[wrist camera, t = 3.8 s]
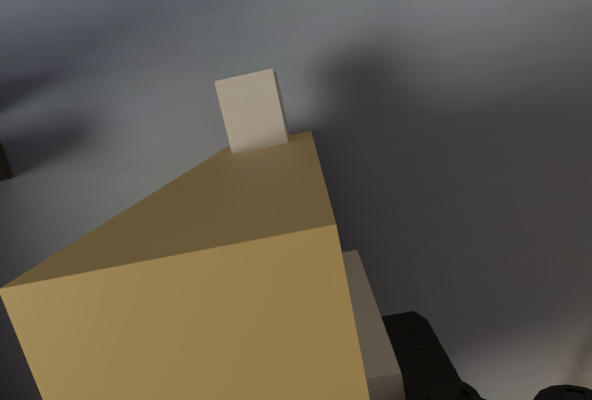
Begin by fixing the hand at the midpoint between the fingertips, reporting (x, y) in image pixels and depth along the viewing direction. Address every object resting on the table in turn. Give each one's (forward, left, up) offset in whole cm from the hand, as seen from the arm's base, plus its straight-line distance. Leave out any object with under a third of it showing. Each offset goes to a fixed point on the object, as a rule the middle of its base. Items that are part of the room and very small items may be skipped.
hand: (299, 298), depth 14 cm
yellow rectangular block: (0, 0, -1) cm, 1 cm away
